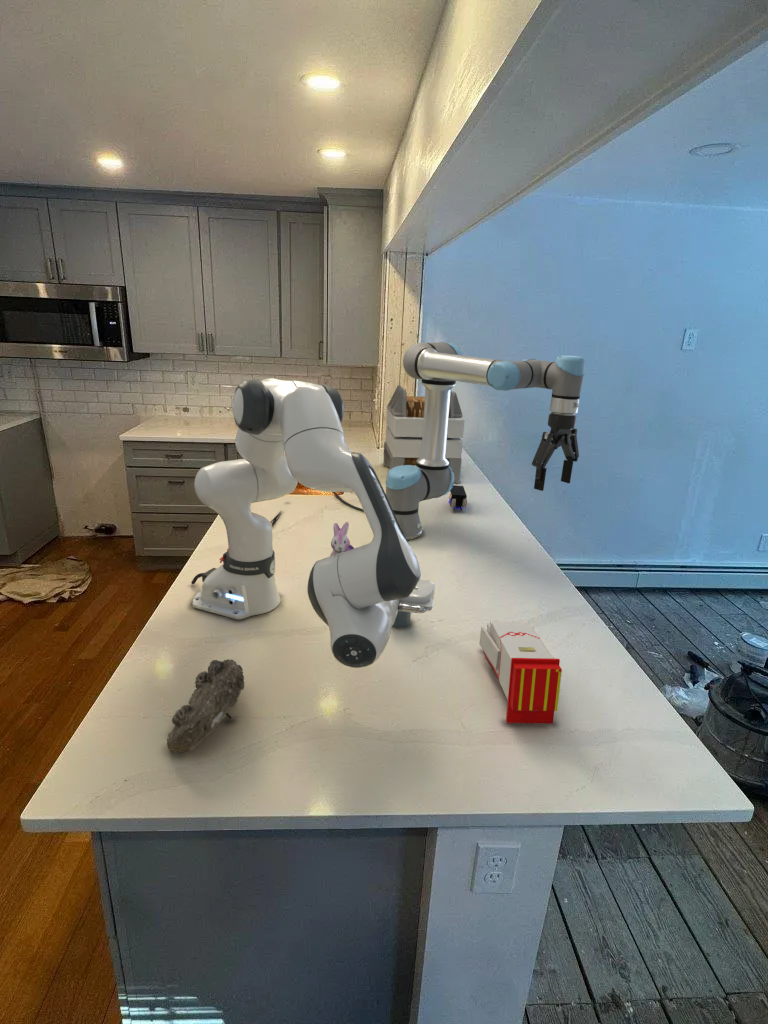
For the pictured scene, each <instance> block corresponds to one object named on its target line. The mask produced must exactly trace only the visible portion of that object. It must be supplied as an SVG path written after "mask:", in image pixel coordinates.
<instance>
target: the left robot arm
mask: <svg viewBox="0 0 768 1024" xmlns="http://www.w3.org/2000/svg"><path fill="white" fill-rule="evenodd" d="M231 410H232V415H233V419H234V420H233V421H234V423H235V425H236V426H237V427H238V428H237V432H236V436H235V439H234V441H235V442H234V443H235V448H236V451H237V453H238V454H239V455H240V457H242V458H239V459H238V458H237V459H232V460H223V461H218V462H214V463H211V464H208V465H206V466H203V467H201V468H200V469H199V470H198V471H197V473H196V474H195V478H194V484H193V486H194V487H193V488H194V493H195V496H196V497H197V499H198V500H199V502H201V503H202V504H203V506H205V507H206V508H209V509H210V510H212V511H214V512H215V514H217V515H218V516H219V517H220V518H221V520H222V523H223V524H224V527H225V530H226V537H227V547H228V548H227V550H226V551H224V553H222V556H221V557H220V558H219V564H221V563H222V564H221V565H220V566H218V567H213V568H210V569H209V570H207V571H205V572H200V573H198V574H196V575H195V576H194V577H193V579H192V580H191V582H190V584H192V585H195V584H196V582H197V581H198V579H200V578H201V580H202V585H201V589H200V590H199V591H198V592H197V593H196V594H195V596H194V597H193V599H192V608H194V609H197V610H201V611H205V612H208V613H212V614H216V615H220V616H223V617H227V618H231V619H234V620H237V621H238V620H244V619H246V618H249V617H252V616H258V615H263V614H265V613H270V612H271V611H273V610H275V609H276V608H278V606H279V605H280V604H281V597H280V596H281V595H280V593H279V590H278V586H277V581H276V575H275V573H276V554H275V550H274V541H273V538H274V536H273V535H274V533H273V526H272V522H271V521H270V520H269V519H268V518H267V517H265V516H264V515H261V514H258V513H255V512H252V511H251V509H252V508H251V506H252V504H255V503H260V502H261V503H262V502H265V501H272V500H277V499H280V498H282V497H285V496H287V495H290V494H292V493H294V492H295V490H296V488H297V486H298V483H299V484H300V485H302V486H303V487H305V488H308V489H310V490H313V491H318V492H325V493H333V492H335V493H349V494H353V495H355V496H356V497H357V500H358V501H359V503H360V505H361V509H363V510H364V512H363V513H364V515H365V517H366V521H367V522H368V525H369V527H370V530H371V531H372V535H373V538H372V540H371V541H370V542H368V543H367V544H364V545H360V546H358V547H354V549H352V550H349V551H346V552H341V553H338V554H335V555H332V556H331V555H330V556H326V557H325V558H322V559H318V560H316V561H315V563H314V564H313V565H312V567H311V569H310V573H309V576H308V581H307V596H308V599H309V602H310V604H311V607H312V608H313V611H314V612H315V613H316V615H317V616H318V618H319V619H320V620H322V621H323V623H324V624H325V625H326V626H328V628H329V635H330V641H329V643H330V651H331V653H332V655H333V657H334V658H335V660H336V661H337V662H339V663H340V664H341V665H342V666H346V667H349V668H354V669H360V668H366V667H369V666H370V665H373V664H374V663H375V662H376V661H378V659H379V658H380V657H381V655H382V654H383V653H384V651H385V649H386V647H387V644H388V642H389V639H390V636H391V634H392V628H393V624H394V622H395V619H396V616H397V613H398V611H404V612H411V614H424V613H426V612H427V611H429V612H431V611H432V610H433V608H434V599H435V591H436V584H435V583H434V582H433V581H431V580H426V579H421V575H422V574H421V566H420V563H419V559H418V557H417V555H416V553H415V552H414V549H413V548H412V546H411V545H410V543H409V540H407V539H406V537H405V535H404V533H403V531H402V529H401V527H400V525H399V523H398V521H397V518H396V516H395V514H394V512H393V509H392V507H391V505H390V503H389V501H388V498H387V496H386V491H385V489H384V487H383V486H382V483H381V481H380V479H379V477H378V476H377V475H378V474H377V473H376V471H375V470H374V468H373V466H372V464H371V463H370V462H369V460H368V459H367V458H366V457H365V456H364V454H362V453H361V452H354V451H352V450H351V448H350V446H349V445H348V444H347V441H346V437H345V433H344V429H343V426H342V422H343V420H344V419H343V418H344V412H345V408H344V400H343V397H342V396H341V394H340V392H339V390H338V389H337V388H335V387H333V386H331V385H328V384H324V383H318V384H317V383H313V382H308V381H301V380H296V379H295V380H294V379H289V380H286V379H285V380H284V379H279V378H273V377H272V378H271V377H268V378H264V379H259V378H254V379H247V380H243V381H241V382H240V383H239V384H238V385H237V386H236V388H235V390H234V394H233V397H232V401H231ZM270 522H271V523H270Z"/></svg>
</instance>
